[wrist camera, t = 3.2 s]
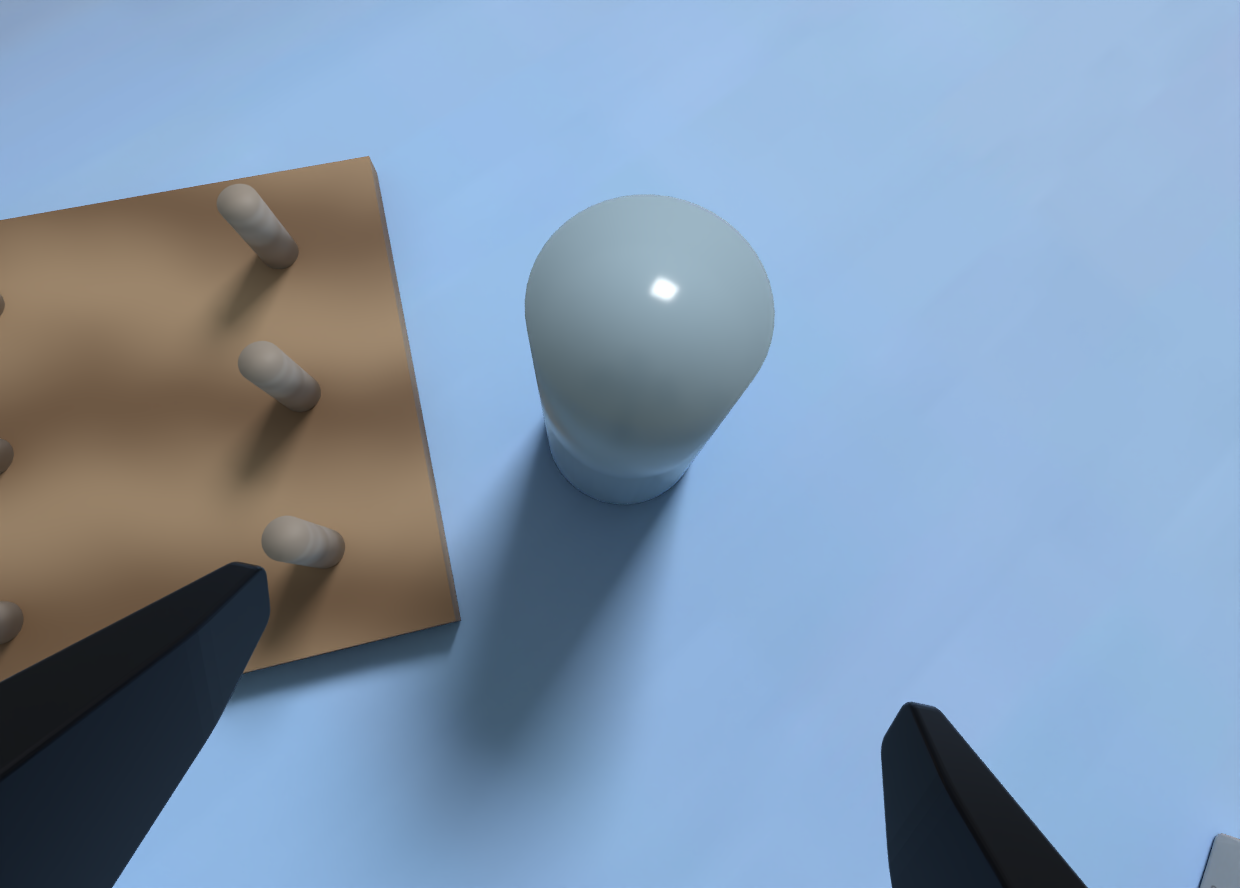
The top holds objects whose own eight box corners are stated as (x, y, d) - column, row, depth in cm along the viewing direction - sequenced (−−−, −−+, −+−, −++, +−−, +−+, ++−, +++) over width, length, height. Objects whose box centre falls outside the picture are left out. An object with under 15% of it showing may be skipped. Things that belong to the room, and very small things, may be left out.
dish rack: (460, 620, 22) (435, 621, 18) (-91, 755, 21) (-247, 788, 17) (376, 173, 26) (340, 95, 22) (-104, 258, 24) (-235, 189, 20)
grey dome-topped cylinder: (723, 408, 24) (817, 272, 15) (648, 533, 23) (696, 476, 14) (598, 333, 25) (609, 153, 15) (518, 453, 24) (474, 342, 14)
